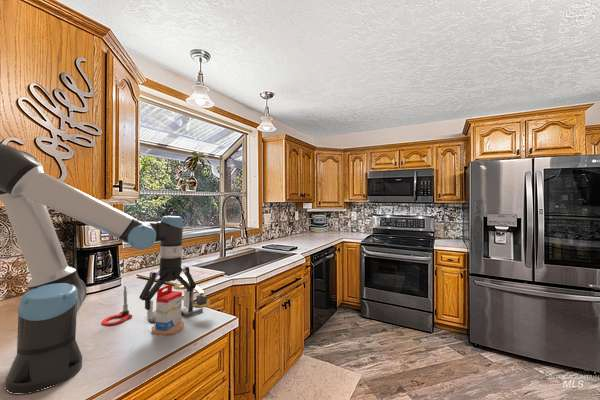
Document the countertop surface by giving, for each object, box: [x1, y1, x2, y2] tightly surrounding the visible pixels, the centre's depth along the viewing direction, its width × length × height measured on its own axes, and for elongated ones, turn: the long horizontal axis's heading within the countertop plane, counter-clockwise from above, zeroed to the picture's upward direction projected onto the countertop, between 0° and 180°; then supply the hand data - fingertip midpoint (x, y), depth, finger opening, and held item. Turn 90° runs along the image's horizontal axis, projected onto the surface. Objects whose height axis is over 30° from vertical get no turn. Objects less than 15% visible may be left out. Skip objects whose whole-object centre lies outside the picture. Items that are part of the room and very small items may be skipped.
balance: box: [173, 274, 211, 318], centre depth 115 cm, size 8×24×15 cm, turn 50°
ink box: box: [154, 283, 183, 331], centre depth 100 cm, size 8×5×15 cm, turn 168°
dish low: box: [151, 319, 185, 337], centre depth 100 cm, size 11×11×1 cm
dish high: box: [147, 310, 156, 324], centre depth 110 cm, size 11×11×1 cm
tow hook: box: [101, 285, 133, 327], centre depth 105 cm, size 8×13×9 cm
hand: (169, 312), depth 100 cm, fingers open, 13 cm apart
